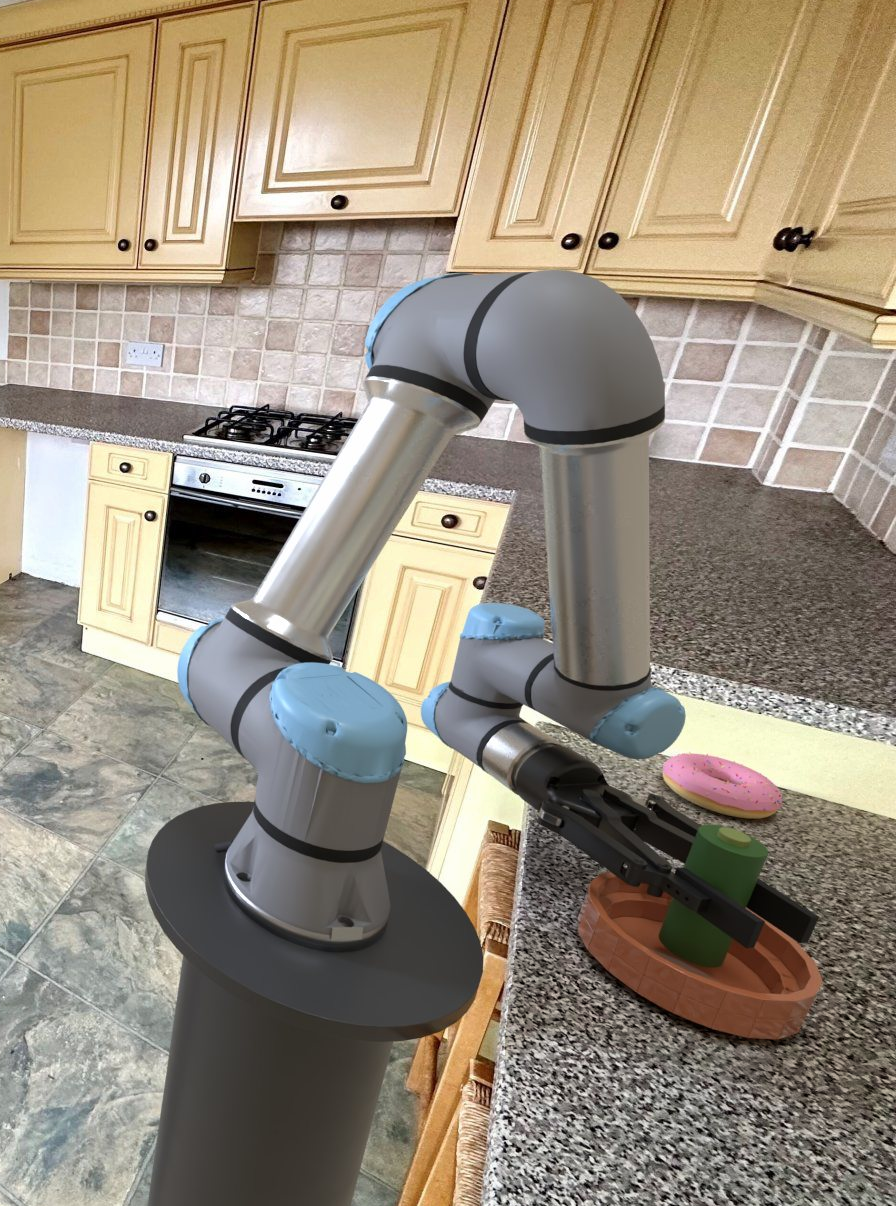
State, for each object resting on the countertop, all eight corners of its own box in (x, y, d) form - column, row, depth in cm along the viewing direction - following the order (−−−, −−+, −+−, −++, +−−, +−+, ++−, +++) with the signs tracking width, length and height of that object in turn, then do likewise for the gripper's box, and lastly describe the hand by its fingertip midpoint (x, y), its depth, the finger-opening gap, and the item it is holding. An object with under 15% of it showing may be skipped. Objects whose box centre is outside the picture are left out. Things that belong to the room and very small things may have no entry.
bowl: (574, 980, 71) (589, 937, 69) (576, 888, 82) (589, 849, 81) (818, 1082, 62) (842, 1034, 60) (781, 962, 73) (800, 920, 72)
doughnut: (656, 798, 98) (666, 770, 97) (658, 763, 106) (668, 737, 104) (779, 837, 91) (792, 807, 90) (772, 797, 99) (784, 768, 97)
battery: (659, 951, 71) (703, 836, 67) (656, 923, 74) (697, 812, 70) (726, 976, 68) (775, 858, 64) (719, 945, 72) (766, 832, 68)
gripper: (604, 796, 88) (856, 959, 66) (463, 805, 86) (675, 976, 64) (623, 738, 86) (891, 888, 64) (479, 747, 84) (703, 903, 62)
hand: (782, 932), depth 64 cm, fingers closed on battery, 4 cm apart
